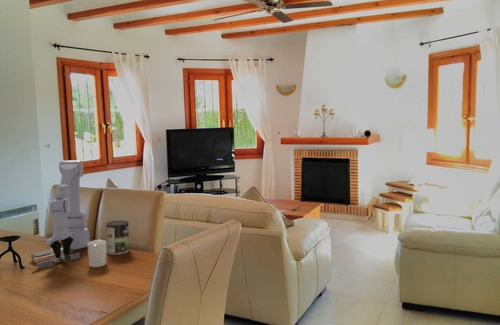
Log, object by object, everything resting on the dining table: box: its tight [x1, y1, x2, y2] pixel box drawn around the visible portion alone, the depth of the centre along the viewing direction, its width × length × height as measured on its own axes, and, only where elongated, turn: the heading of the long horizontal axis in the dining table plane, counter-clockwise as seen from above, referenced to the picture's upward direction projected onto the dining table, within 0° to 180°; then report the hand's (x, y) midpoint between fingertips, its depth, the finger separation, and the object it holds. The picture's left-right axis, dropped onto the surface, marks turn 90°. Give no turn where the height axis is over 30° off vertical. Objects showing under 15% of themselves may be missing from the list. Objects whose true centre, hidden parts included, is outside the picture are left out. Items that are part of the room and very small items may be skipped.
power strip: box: [30, 245, 81, 270], centre depth 181 cm, size 18×13×4 cm
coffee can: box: [105, 220, 130, 256], centre depth 193 cm, size 10×10×14 cm
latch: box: [33, 254, 55, 264], centre depth 172 cm, size 8×1×2 cm, turn 139°
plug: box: [50, 248, 69, 264], centre depth 178 cm, size 5×11×5 cm, turn 49°
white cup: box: [87, 239, 107, 268], centre depth 174 cm, size 8×8×10 cm
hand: (62, 256), depth 177 cm, fingers open, 4 cm apart
